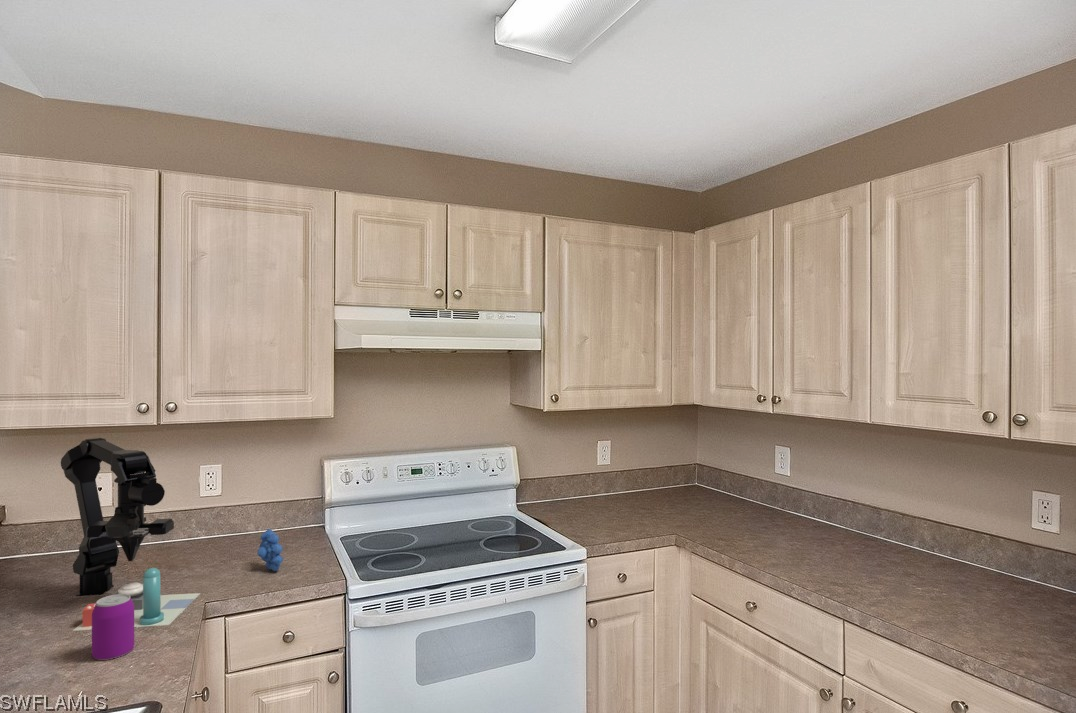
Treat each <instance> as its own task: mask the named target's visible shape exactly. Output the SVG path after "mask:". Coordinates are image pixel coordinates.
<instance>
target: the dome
mask: <svg viewBox="0 0 1076 713" xmlns="http://www.w3.org/2000/svg"><path fill="white" fill-rule="evenodd" d="M117 591H118V594H128V595H130V597H131V596H136V595H139V594H141V593H143V583H140V582H130V583H129V582H128V583H126V584H123V585H122V586H120V587H119V588H118V589H117Z"/></svg>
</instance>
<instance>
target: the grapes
mask: <svg viewBox="0 0 1076 713" xmlns="http://www.w3.org/2000/svg"><path fill="white" fill-rule="evenodd" d="M259 538H260V540H261V542H260V543H259V546H258V549H257V552H256V555H258V556H259V557H260V558H261V560H263V562H265V568H267V569H268V570H269V571H270V570H271V569H272V571H274V572H278V571H279V569H280V568H281V564H282V563H283V561H284V557H283V556H282V555H281V553H282V552H283V549H284V547H283V546H282V545H281V544H280V543H279V541H280V536H279V535H278V534H276V533H275V532H274V530H272V529H270V528H268V529H266V530H265V531H264V532H262V533H261V536H260V537H259Z"/></svg>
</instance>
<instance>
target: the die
mask: <svg viewBox="0 0 1076 713" xmlns="http://www.w3.org/2000/svg"><path fill="white" fill-rule="evenodd" d="M95 605H96V602H95V603H89V604H87V605H86V606H85V607H84V609H82V623H83V627H88V626H92V612H93V610H94V607H95Z"/></svg>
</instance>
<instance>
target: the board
mask: <svg viewBox="0 0 1076 713" xmlns="http://www.w3.org/2000/svg"><path fill="white" fill-rule="evenodd" d="M200 594H201V593H200V592H197V593H181V594H180V593H179V594H178V593H176V594H160V597H161V612H163V613H164V620H163V621H161V622H159V623H156V624H152V625H141V624H140V617H141V616H142V615H143V609H142V610H134V628H139V627H141V628H143V627H157V626H169V625H171V623H172V622H173V621H174V620H176V619H177V618H178V617H179V616H180V614H181V613H182V612H183V611H185V609H186V608H187V607H188V606H189V605H190V604H191V603H192V602H193V601H195V599H197V597H199V596H200ZM87 630H88V631H90V630H91V631H92V626H88V627H83V622H81V623H80V624H79V625H78V626H77V627H75V628H74V629H73V630H72V631H76V632H77V631H87Z"/></svg>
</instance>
